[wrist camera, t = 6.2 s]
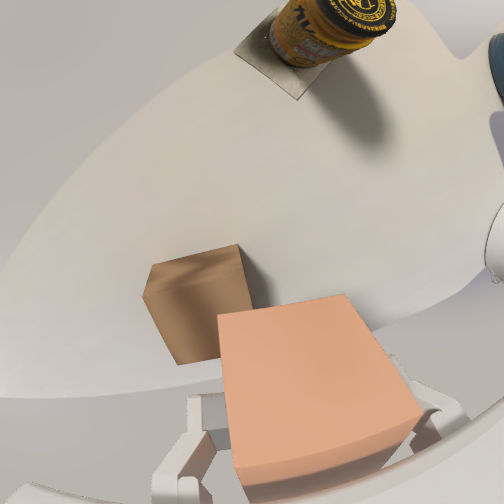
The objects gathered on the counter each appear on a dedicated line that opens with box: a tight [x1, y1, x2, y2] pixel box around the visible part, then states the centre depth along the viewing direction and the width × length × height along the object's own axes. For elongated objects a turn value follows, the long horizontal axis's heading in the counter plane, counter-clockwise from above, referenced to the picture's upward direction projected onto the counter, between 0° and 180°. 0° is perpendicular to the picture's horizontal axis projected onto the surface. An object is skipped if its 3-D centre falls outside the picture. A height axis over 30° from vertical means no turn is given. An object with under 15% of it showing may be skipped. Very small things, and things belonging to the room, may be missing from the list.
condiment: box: [233, 0, 397, 100], centre depth 15 cm, size 7×8×12 cm
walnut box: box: [142, 244, 254, 365], centre depth 28 cm, size 9×9×6 cm
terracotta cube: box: [217, 294, 424, 504], centre depth 9 cm, size 5×5×6 cm
